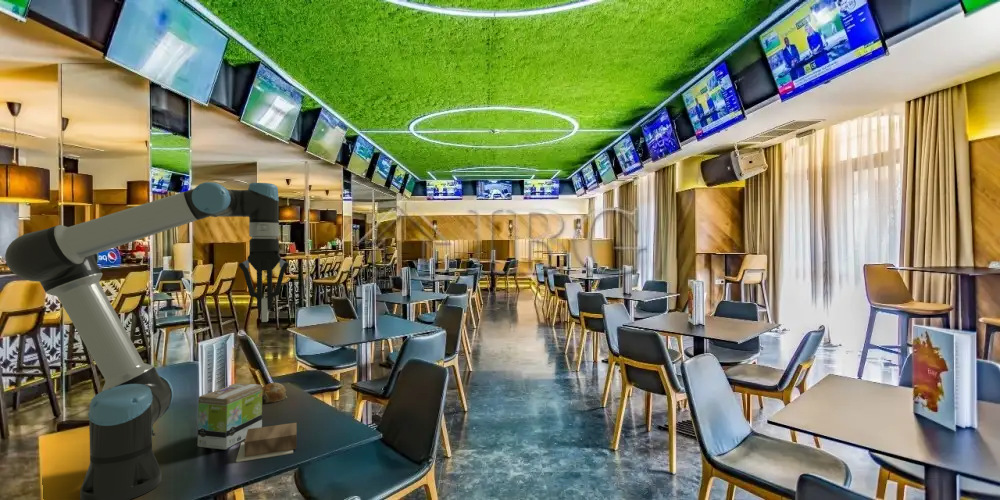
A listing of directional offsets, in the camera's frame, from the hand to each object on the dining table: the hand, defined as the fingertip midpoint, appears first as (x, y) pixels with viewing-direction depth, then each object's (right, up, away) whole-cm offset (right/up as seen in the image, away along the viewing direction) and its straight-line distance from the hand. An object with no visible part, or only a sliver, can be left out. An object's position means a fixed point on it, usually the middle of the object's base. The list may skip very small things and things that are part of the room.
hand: (264, 321), depth 136 cm
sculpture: (-40, -37, +11) cm, 55 cm away
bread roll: (-19, -36, +44) cm, 60 cm away
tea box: (-14, -37, +8) cm, 40 cm away
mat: (0, -36, 0) cm, 36 cm away
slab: (+7, -34, +4) cm, 35 cm away
